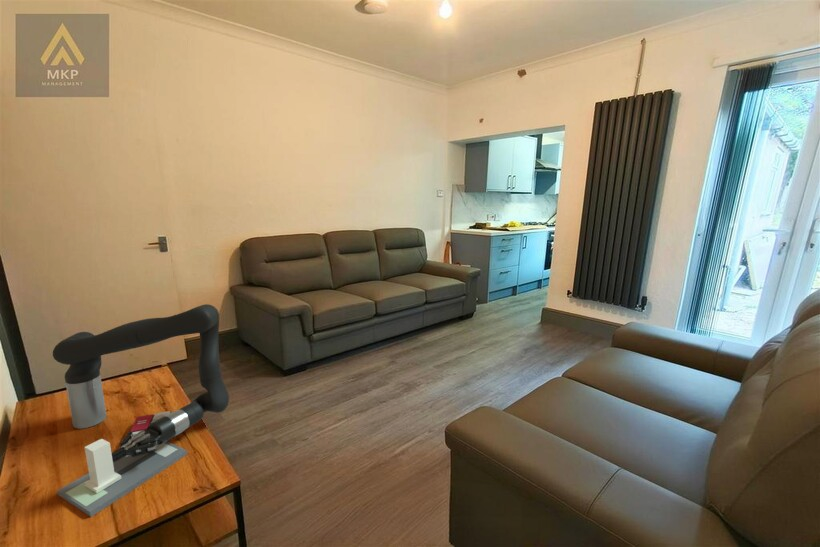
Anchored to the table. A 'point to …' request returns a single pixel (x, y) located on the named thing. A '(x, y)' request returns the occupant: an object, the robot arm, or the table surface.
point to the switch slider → (100, 466)
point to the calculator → (146, 421)
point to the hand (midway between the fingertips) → (108, 460)
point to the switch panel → (122, 478)
